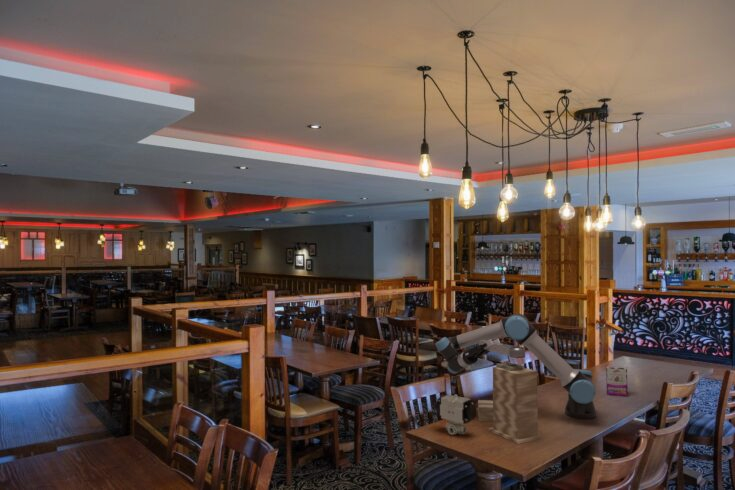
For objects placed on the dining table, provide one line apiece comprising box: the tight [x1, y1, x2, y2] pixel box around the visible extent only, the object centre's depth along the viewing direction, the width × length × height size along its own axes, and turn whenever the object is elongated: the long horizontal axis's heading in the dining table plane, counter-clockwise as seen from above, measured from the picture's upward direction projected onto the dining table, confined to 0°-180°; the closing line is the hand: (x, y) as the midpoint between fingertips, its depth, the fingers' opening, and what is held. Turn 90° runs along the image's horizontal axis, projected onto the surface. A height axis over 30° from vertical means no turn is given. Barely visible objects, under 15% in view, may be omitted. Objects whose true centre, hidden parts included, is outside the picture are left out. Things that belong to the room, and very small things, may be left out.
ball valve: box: [435, 393, 478, 436], centre depth 234 cm, size 18×8×18 cm, turn 50°
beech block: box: [477, 399, 493, 423], centre depth 258 cm, size 14×10×6 cm
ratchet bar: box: [478, 340, 526, 359], centre depth 240 cm, size 28×7×4 cm, turn 29°
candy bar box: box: [605, 365, 629, 397], centre depth 297 cm, size 11×5×16 cm, turn 68°
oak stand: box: [488, 361, 544, 445], centre depth 233 cm, size 19×15×32 cm
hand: (495, 341), depth 244 cm, fingers closed on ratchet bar, 4 cm apart
